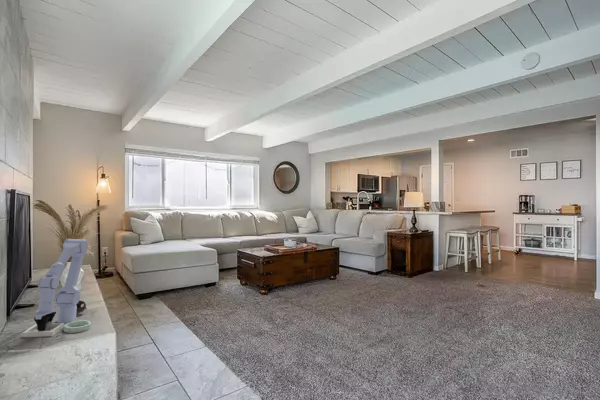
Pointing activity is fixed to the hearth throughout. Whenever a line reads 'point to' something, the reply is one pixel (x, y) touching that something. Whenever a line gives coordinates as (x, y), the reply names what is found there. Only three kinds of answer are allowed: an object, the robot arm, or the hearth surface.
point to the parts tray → (35, 333)
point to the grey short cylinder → (48, 326)
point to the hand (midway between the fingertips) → (44, 329)
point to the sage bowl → (77, 326)
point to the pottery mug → (79, 308)
